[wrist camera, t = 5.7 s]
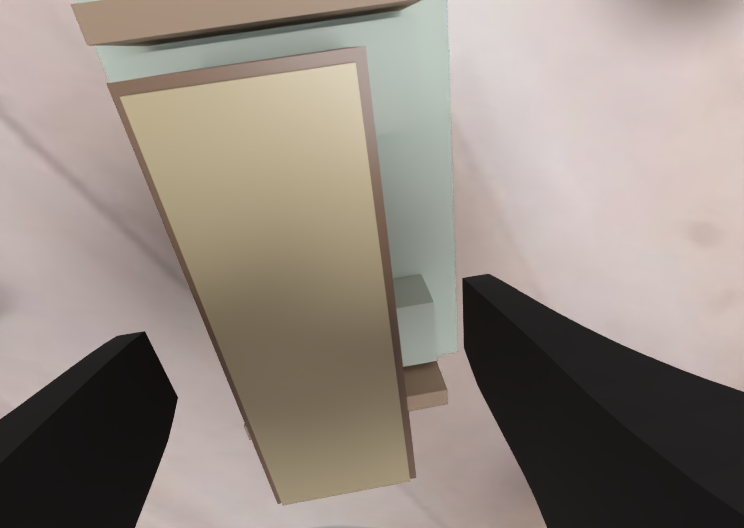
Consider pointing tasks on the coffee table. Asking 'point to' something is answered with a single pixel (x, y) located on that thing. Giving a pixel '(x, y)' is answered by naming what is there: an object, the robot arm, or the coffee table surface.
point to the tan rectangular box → (285, 256)
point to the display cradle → (390, 109)
